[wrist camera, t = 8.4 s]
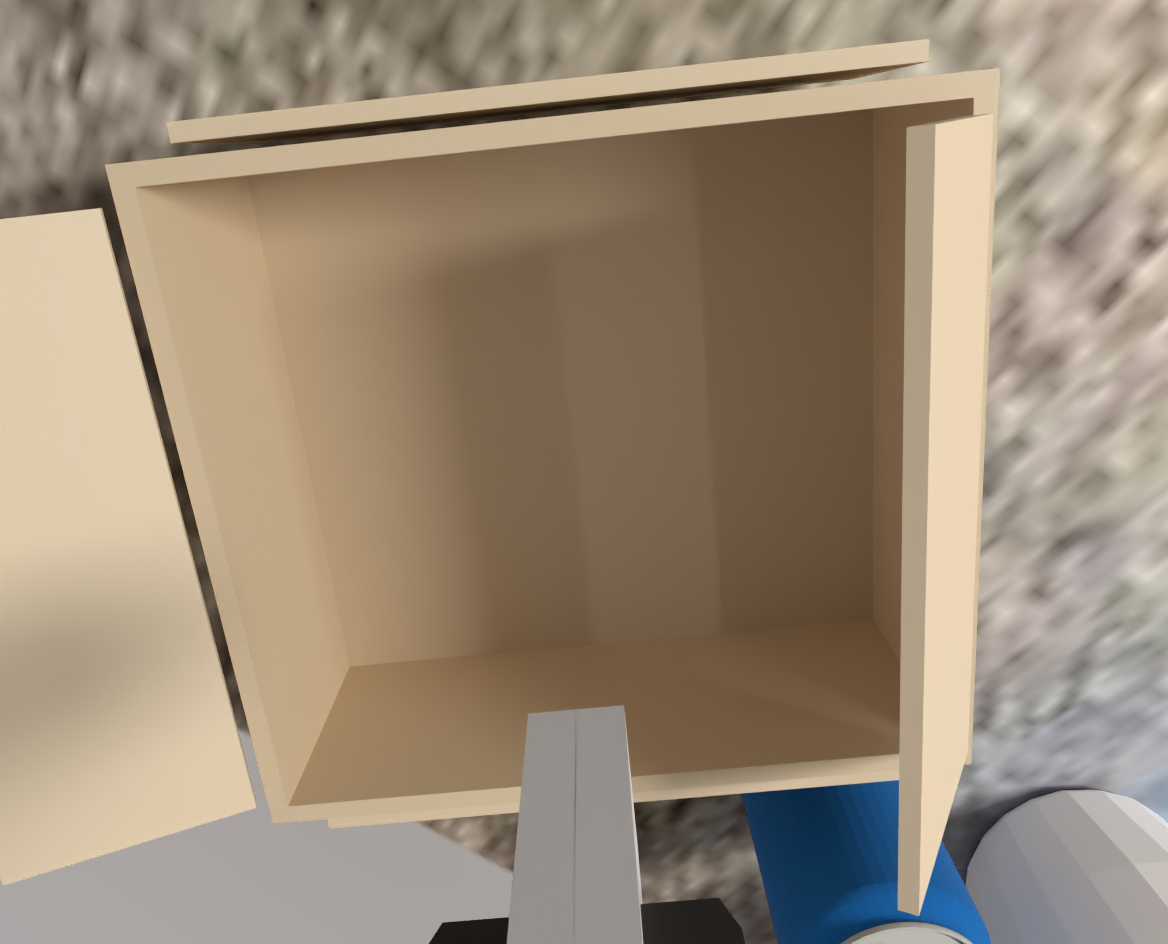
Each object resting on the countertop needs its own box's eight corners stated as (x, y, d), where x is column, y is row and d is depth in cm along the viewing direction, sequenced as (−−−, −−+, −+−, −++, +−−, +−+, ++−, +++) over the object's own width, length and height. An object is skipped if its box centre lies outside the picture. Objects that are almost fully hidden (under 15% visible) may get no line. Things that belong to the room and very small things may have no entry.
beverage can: (801, 844, 41) (883, 1108, 30) (703, 754, 40) (751, 998, 28) (919, 757, 40) (1052, 1001, 29) (822, 661, 38) (922, 878, 27)
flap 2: (967, 750, 28) (919, 916, 23) (950, 746, 29) (897, 909, 23) (993, 113, 22) (935, 124, 17) (970, 115, 23) (906, 126, 17)
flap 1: (102, 207, 24) (-230, 244, 22) (100, 208, 23) (-241, 246, 21) (255, 796, 30) (7, 872, 28) (256, 807, 29) (3, 885, 27)
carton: (226, 132, 32) (95, 128, 23) (885, 60, 31) (1001, 29, 22) (345, 691, 39) (278, 845, 30) (883, 642, 38) (970, 786, 30)
